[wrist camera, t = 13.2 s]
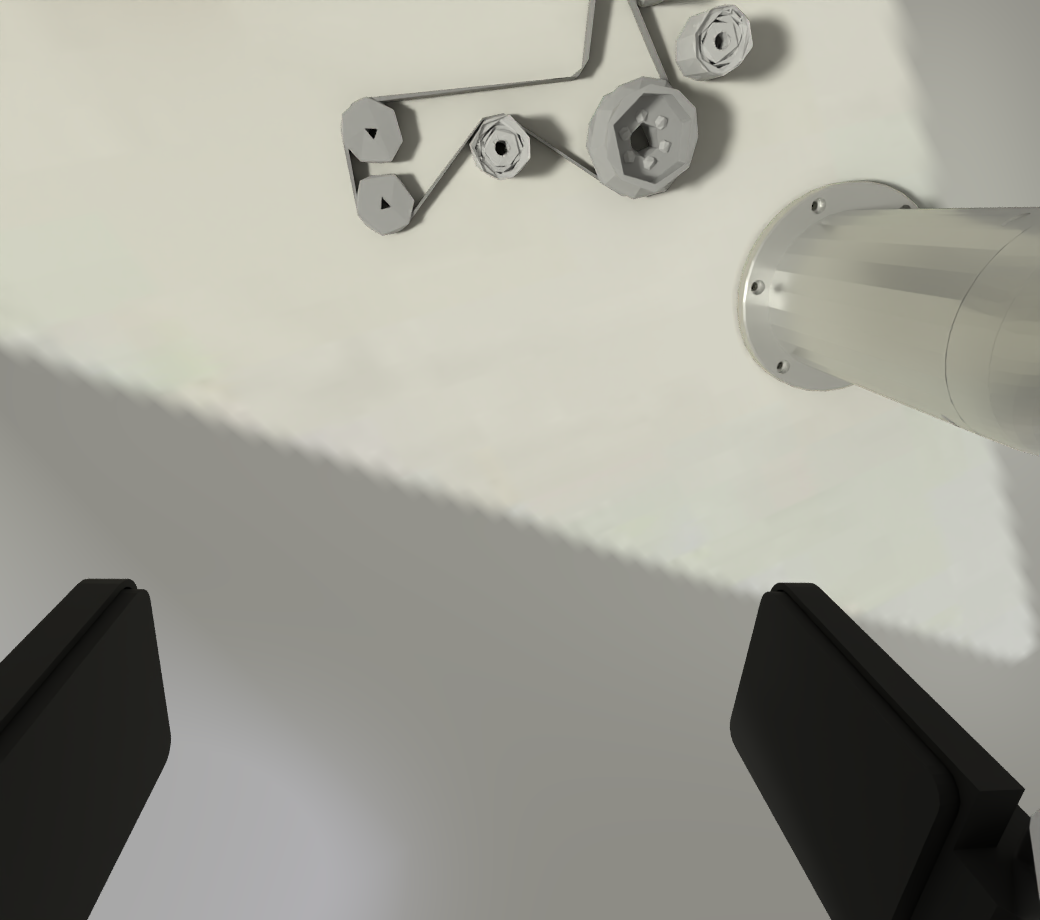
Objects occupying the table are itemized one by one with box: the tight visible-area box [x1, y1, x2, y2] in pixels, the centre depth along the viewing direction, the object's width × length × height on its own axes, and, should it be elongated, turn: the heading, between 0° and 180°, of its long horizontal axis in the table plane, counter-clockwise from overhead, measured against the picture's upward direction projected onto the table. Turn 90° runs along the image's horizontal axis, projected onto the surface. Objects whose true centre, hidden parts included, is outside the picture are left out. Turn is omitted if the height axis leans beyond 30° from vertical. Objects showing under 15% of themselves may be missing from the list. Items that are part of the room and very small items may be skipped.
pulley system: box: [341, 0, 753, 236], centre depth 32 cm, size 27×5×15 cm
